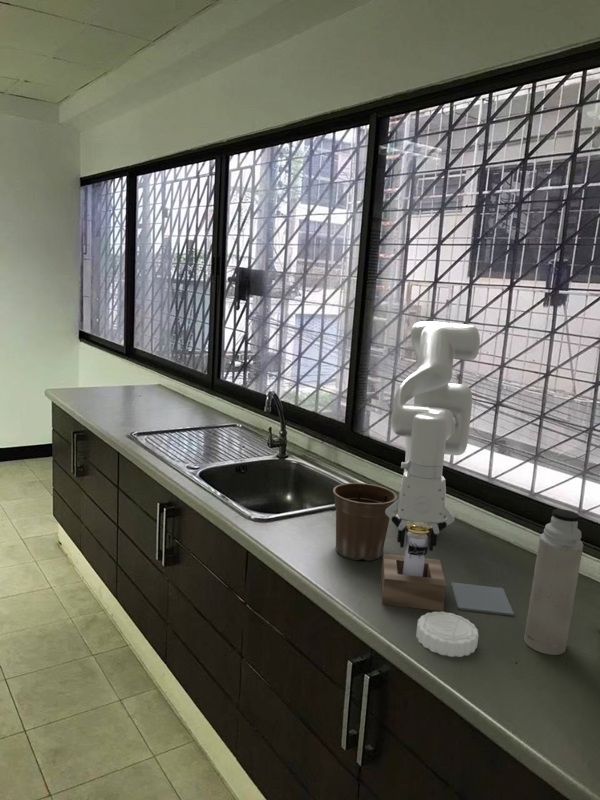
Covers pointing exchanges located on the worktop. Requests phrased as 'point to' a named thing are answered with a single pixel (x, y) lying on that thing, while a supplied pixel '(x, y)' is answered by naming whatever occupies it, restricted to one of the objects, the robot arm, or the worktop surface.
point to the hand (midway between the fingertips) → (416, 546)
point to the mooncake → (447, 634)
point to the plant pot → (361, 519)
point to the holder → (412, 584)
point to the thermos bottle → (554, 584)
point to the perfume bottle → (415, 548)
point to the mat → (481, 599)
